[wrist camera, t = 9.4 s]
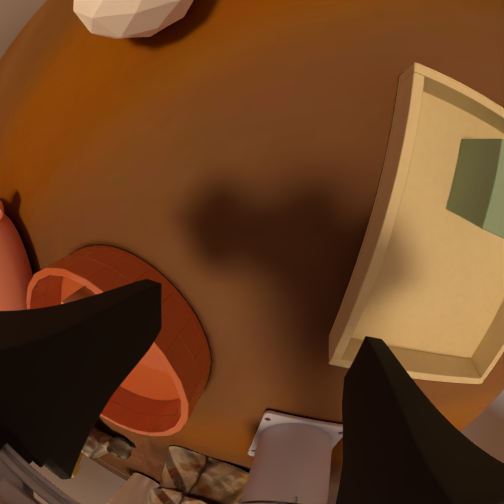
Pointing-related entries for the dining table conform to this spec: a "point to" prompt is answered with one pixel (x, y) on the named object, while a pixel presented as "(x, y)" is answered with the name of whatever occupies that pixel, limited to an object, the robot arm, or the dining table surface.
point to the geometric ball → (129, 16)
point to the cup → (134, 490)
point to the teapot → (12, 267)
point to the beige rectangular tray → (427, 244)
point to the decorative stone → (106, 445)
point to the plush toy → (197, 480)
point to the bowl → (160, 353)
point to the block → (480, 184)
